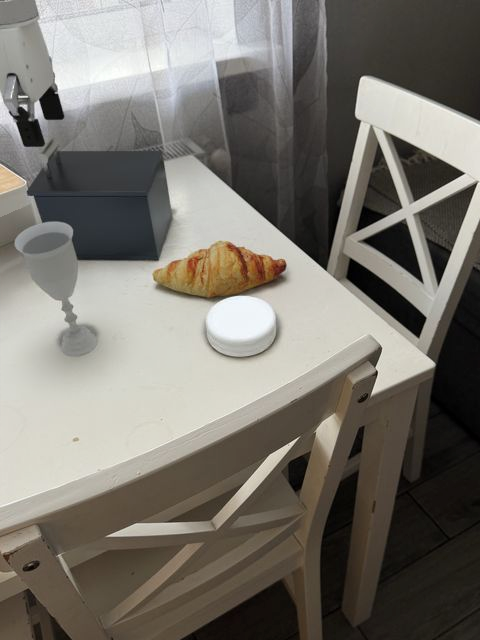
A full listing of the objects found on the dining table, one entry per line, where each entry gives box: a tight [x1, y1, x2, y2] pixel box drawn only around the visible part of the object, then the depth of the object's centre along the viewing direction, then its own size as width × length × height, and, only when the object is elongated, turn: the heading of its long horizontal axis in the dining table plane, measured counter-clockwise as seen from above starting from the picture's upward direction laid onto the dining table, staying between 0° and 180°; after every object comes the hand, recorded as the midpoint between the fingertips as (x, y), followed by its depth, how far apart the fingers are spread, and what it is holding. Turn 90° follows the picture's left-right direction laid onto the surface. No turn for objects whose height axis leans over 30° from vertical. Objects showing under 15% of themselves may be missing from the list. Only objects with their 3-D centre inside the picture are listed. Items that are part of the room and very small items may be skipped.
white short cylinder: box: [205, 295, 277, 358], centre depth 85 cm, size 10×10×4 cm
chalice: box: [14, 222, 98, 357], centre depth 79 cm, size 7×7×18 cm
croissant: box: [152, 240, 288, 299], centre depth 93 cm, size 21×10×8 cm, turn 95°
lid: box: [26, 136, 164, 197], centre depth 96 cm, size 19×14×5 cm
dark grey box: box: [33, 155, 173, 262], centre depth 101 cm, size 18×14×12 cm
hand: (45, 132), depth 93 cm, fingers open, 9 cm apart
